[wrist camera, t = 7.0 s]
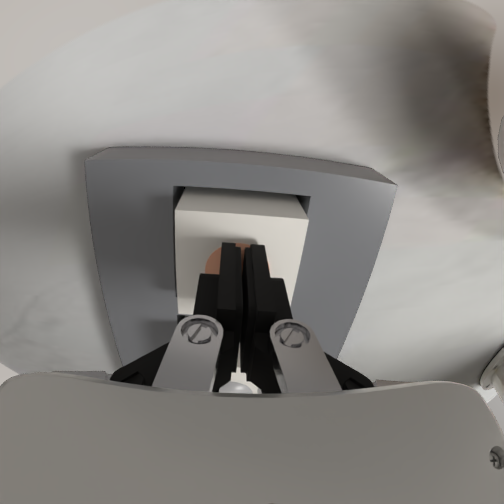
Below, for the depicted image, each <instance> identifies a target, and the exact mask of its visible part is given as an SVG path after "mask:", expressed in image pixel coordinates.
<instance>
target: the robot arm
mask: <svg viewBox="0 0 504 504" xmlns="http://www.w3.org/2000/svg"><path fill="white" fill-rule="evenodd" d="M239 343H240V370H241V373H246V382H252V383H253V384H254V385H255V386H257V387H258V389H257V391H258V394H249V393H220V388H221V387H222V386H224V385H225V384H227V383H228V382H229V381H231V373H236V369H237V361H238V352H239ZM480 384H481V386H482V388H483V389H484V390H489V389H492V388H495V390H496V392H497V394H498V395H499V397H500V399H501V401H502V402H503V404H504V347H503V348H502V349H501V350H500V351H499V352H498V354H497V355H496V356H495V357H494V358H493V360H492V361H491V362H490V363H489V365H488V366H487V368H486V369H485V371H484V372H483V374H482V376H481V379H480ZM0 504H504V434H503V432H502V430H501V428H500V426H499V424H498V422H497V420H496V418H495V416H494V414H493V413H492V411H491V409H490V408H489V406H488V405H487V403H486V401H485V400H484V399H483V397H482V396H481V395H480V394H479V393H478V392H477V391H476V390H475V389H473V388H472V387H470V386H467V385H464V384H461V383H456V382H451V381H422V382H399V381H386V380H376V381H375V382H374V383H373V382H371V381H370V380H369V379H368V378H367V377H365V376H364V375H362V374H361V373H359V372H357V371H355V370H354V369H352V368H350V367H349V366H347V365H345V364H344V363H342V362H340V361H339V360H337V359H335V358H334V357H332V356H330V355H329V354H327V353H325V352H324V351H323V349H322V347H321V345H320V343H319V341H318V339H317V337H316V335H315V333H314V331H313V330H312V329H311V327H309V326H308V325H307V324H305V323H303V322H301V321H298V320H294V319H293V317H292V313H291V308H290V304H289V300H288V295H287V291H286V287H285V283H284V279H283V278H271V277H270V272H269V266H268V261H267V255H266V249H265V245H257V244H251V245H250V248H249V247H245V251H244V260H243V270H242V266H241V247H236V243H228V242H222V247H221V259H220V271H219V274H206V273H200V275H199V281H198V287H197V293H196V299H195V305H194V311H193V315H192V316H189V317H186V318H184V319H183V320H181V321H180V322H179V323H178V325H177V326H176V329H175V331H174V333H173V336H172V338H171V341H170V342H168V343H166V344H164V345H162V346H161V347H159V348H157V349H155V350H153V351H151V352H150V353H148V354H146V355H144V356H142V357H140V358H138V359H136V360H135V361H133V362H131V363H129V364H127V365H125V366H123V367H121V368H120V369H118V370H117V371H115V372H114V373H113V374H106V372H105V371H53V372H34V373H25V374H20V375H17V376H14V377H11V378H9V379H8V380H6V381H5V382H4V383H3V384H2V385H1V386H0Z"/></svg>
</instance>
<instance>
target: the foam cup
mask: <svg viewBox="0 0 504 504" xmlns="http://www.w3.org/2000/svg"><path fill="white" fill-rule="evenodd" d="M498 157H499V160H500V164H501V167H502V170H503V173H504V117H503V118H502V120H501V125H500V130H499V135H498Z"/></svg>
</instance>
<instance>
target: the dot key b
mask: <svg viewBox="0 0 504 504" xmlns="http://www.w3.org/2000/svg"><path fill="white" fill-rule="evenodd" d="M308 222H309V219H308V217H307V215H306V213H305V212H304V210H303V208H302V206H301V204H300V203H299V201H298V199H297V197H296V195H295V194H285V193H275V192H264V191H252V190H239V189H225V188H209V187H191V186H186V188H185V190H184V192H183V194H182V196H181V198H180V200H179V203H178V205H177V207H176V209H175V254H176V281H177V300H178V314H188V315H193V311H194V305H195V299H196V293H197V287H198V281H199V275H200V273H206V274H219V271H220V259H221V247H222V242H228V243H236V247H241V266H242V270H243V260H244V251H245V247H249V248H250V245H251V244H257V245H265V249H266V255H267V261H268V266H269V272H270V277H271V278H283V279H284V283H285V287H286V291H287V295H288V300H289V304H290V306H291V301H292V297H293V293H294V288H295V284H296V279H297V275H298V270H299V266H300V261H301V256H302V252H303V247H304V242H305V237H306V232H307V227H308Z"/></svg>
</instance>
